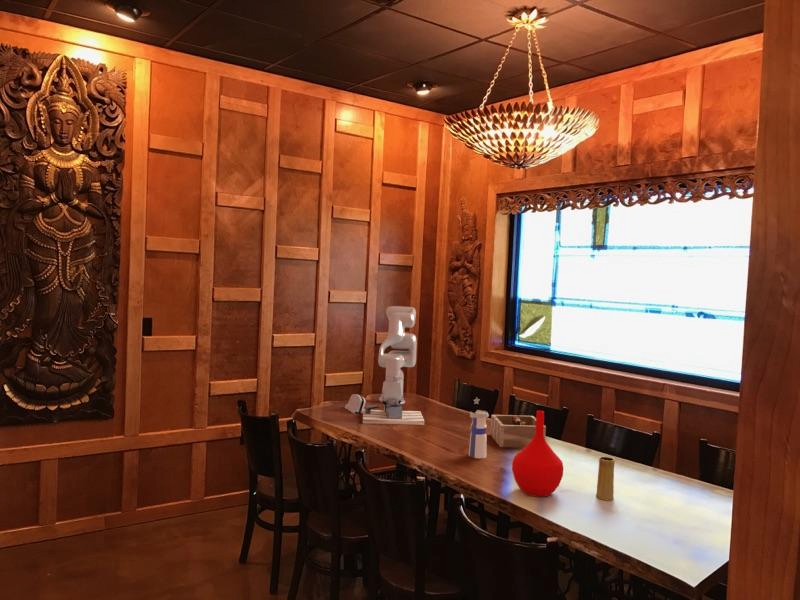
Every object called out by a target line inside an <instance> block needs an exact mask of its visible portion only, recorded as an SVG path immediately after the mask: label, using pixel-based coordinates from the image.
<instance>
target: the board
mask: <svg viewBox="0 0 800 600" xmlns="http://www.w3.org/2000/svg"><path fill="white" fill-rule="evenodd" d="M362 424H379V425H382V424H383V425H406V426H407V425H409V426H410V425H411V426H416V425H418V426H425V419H424V416H423V415H422V412H421V411H418V410H402V418H399V419H389V418H388V417H387V416H386V412H385V410H384V409H380V410H379V409H371V411H370V414H366V413H365V409H364V410H363V413H362Z"/></svg>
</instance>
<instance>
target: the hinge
mask: <svg viewBox="0 0 800 600" xmlns="http://www.w3.org/2000/svg"><path fill="white" fill-rule="evenodd" d="M366 403H367V401H366V399H365V397H364V396H362V395H361V394H356V393H353V394H351V396H350V397H349V400H348V403H346V404H345V406H344V409H346V410H347V409H348V410H347V411H349V412H350V411H351V413H352V414H353V413H354V415H355V414H356V413H359V414H363V410H365V407H366Z"/></svg>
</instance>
